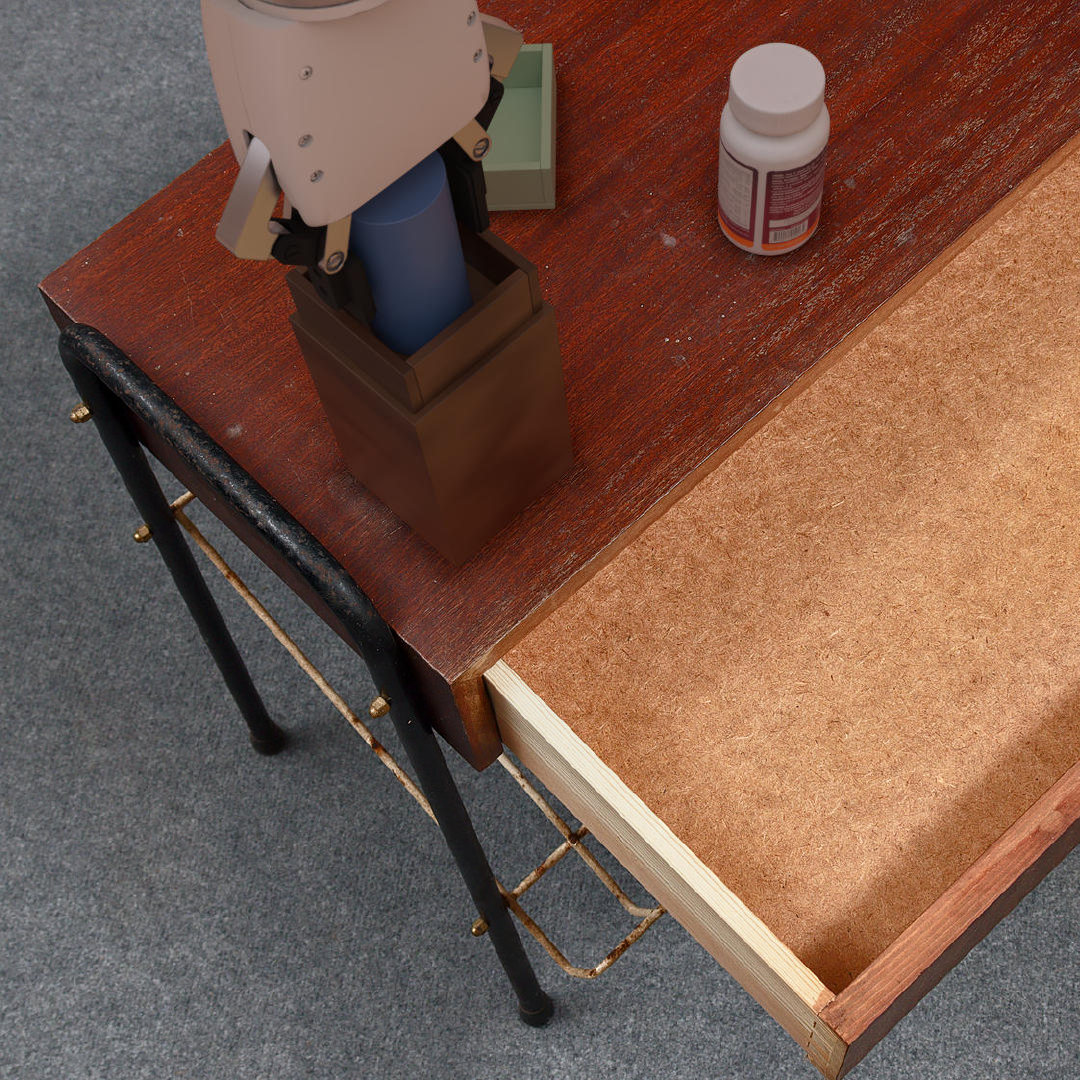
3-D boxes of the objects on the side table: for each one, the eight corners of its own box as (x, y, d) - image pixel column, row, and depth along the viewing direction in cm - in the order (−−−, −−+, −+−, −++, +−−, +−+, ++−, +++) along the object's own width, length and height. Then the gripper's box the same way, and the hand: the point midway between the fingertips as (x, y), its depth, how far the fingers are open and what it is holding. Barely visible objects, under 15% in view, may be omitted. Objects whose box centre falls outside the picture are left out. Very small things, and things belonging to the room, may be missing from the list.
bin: (389, 214, 89) (379, 174, 86) (398, 91, 94) (389, 49, 91) (555, 209, 89) (550, 168, 86) (556, 85, 94) (552, 42, 90)
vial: (364, 357, 68) (321, 226, 60) (371, 271, 70) (330, 134, 62) (472, 354, 67) (443, 222, 59) (475, 268, 70) (448, 129, 62)
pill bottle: (830, 193, 89) (849, 47, 79) (802, 270, 86) (819, 129, 76) (733, 171, 90) (740, 24, 80) (703, 246, 87) (706, 104, 77)
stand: (457, 569, 78) (402, 387, 63) (348, 471, 81) (271, 275, 66) (575, 465, 81) (550, 266, 66) (465, 374, 84) (417, 163, 69)
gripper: (430, -262, 53) (489, 110, 69) (43, -9, 48) (205, 328, 64) (575, -171, 50) (601, 192, 66) (183, 106, 45) (315, 426, 62)
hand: (406, 256), depth 65 cm, fingers open, 6 cm apart
